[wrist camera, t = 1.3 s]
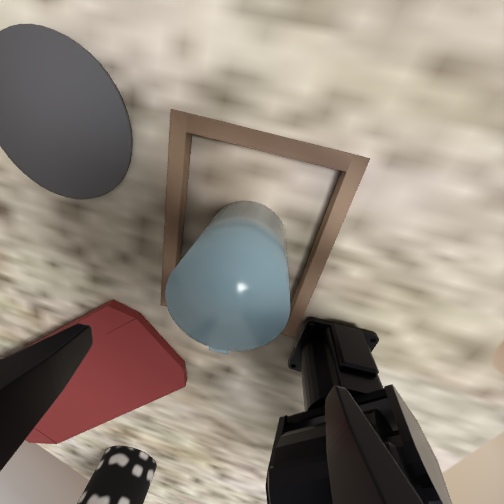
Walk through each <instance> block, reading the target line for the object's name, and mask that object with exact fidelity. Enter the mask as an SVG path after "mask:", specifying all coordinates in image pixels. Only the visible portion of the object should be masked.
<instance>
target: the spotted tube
mask: <svg viewBox="0 0 504 504" xmlns="http://www.w3.org/2000/svg"><path fill="white" fill-rule="evenodd" d="M155 470H156V463H155V461H154V460H153V459H152V458H151V457H150V456H149V455H147V454H145V453H144V452H142V451H139V450H137V449H134V448H130V447H124V446H115V447H111V448H108V449H107V450H106V452H105V453H104V455H103V457H102V459H101V461H100V463H99V464H98V466H97V468H96V470H95V472H94V474H93V475H92V477H91V479H90V481H89V483H88V485H87V487H86V488H85V490H84V492H83V494H82V496H81V497H80V499H79V501H78V503H77V504H143V502H144V500H145V497H146V494H147V492H148V489H149V486H150V483H151V481H152V478H153V475H154V472H155Z"/></svg>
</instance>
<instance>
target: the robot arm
mask: <svg viewBox="0 0 504 504" xmlns="http://www.w3.org/2000/svg"><path fill="white" fill-rule="evenodd" d="M311 323H313V324H311ZM371 338H373V339H371ZM378 341H379V338H378V336H377V334H376V333H373V332H369V331H365V330H360V329H356V328H352V327H348V326H344V325H340V324H336V323H332V322H327V321H323V320H319V319H315V318H309V319H307V320H306V322H305V324H304V327H303V329H302V331H301V334H300V336H299V338H298V340H297V343H296V345H295V347H294V350H293V352H292V354H291V356H290V359H289V361H288V366H289V368H290V369H293V370H298V371H301V373H302V384H303V395H304V405H305V411H304V412H301V413H298V414H294V415H291V416H287V415H286V416H282V417H280V419H279V423H278V428H277V432H276V436H275V441H274V445H273V449H272V454H271V458H270V463H269V467H268V472H267V478H266V495H267V504H452V502H451V499H450V496H449V493H448V490H447V487H446V484H445V481H444V479H443V476H442V472H441V469H440V466H439V464H438V461H437V459H436V457H435V455H434V453H433V451H432V449H431V447H430V445H429V443H428V441H427V439H426V437H425V435H424V433H423V431H422V429H421V427H420V425H419V423H418V421H417V420H416V418H415V417H414V415H413V414H412V412H411V411H410V410H409V408H408V407H407V405H406V404H405V402H404V401H403V399H402V398H401V396H400V395H399V393H398V392H397V390H396V389H395V387H394V386H393V385H388V386H385V387H384V388H383V386H382V384H381V381H380V379H379V376H378V373H379V371H378V368H377V366H376V363H375V361H374V359H373V356H372V354H371V352H372V350H373V349H374V347H375V346H376V344H377V343H378ZM92 344H93V336H92V328H91V326H90V325H86V324H82V323H78V324H75V325H73V326H70V327H68V328H66V329H64V330H62V331H60V332H58V333H56V334H53V335H51V336H49V337H47V338H45V339H43V340H41V341H39V342H36V343H34V344H32V345H30V346H28V347H26V348H24V349H22V350H19V351H17V352H15V353H13V354H11V355H9V356H7V357H5V358H3V359H0V471H1V470H2V469H3V467H4V466H5V464H6V463H7V462H8V461H9V460H10V458H11V457H12V456H13V454H14V453H15V452H16V451H17V449H18V448H19V447H20V445H21V444H22V443H23V442H24V440H25V439H26V438H27V436H28V435H29V434H30V433H31V431H32V430H33V429H34V427H35V426H36V425H37V424H38V422H39V421H40V420H41V418H42V417H43V416H44V415H45V413H46V412H47V411H48V409H49V408H50V407H51V406H52V404H53V403H54V402H55V400H56V399H57V398H58V397H59V395H60V394H61V393H62V391H63V390H64V388H65V387H66V386H67V384H68V383H69V381H70V379H71V378H72V376H73V375H74V373H75V372H76V370H77V369H78V367H79V365H80V364H81V362H82V361H83V359H84V358H85V356H86V355H87V353H88V352H89V350H90V348H91V347H92Z"/></svg>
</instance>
